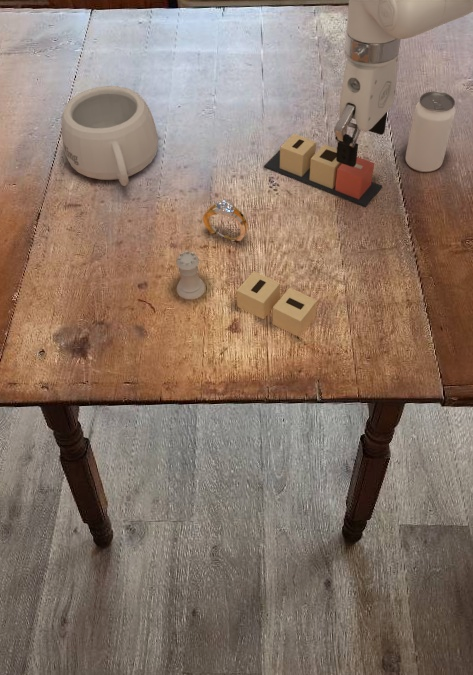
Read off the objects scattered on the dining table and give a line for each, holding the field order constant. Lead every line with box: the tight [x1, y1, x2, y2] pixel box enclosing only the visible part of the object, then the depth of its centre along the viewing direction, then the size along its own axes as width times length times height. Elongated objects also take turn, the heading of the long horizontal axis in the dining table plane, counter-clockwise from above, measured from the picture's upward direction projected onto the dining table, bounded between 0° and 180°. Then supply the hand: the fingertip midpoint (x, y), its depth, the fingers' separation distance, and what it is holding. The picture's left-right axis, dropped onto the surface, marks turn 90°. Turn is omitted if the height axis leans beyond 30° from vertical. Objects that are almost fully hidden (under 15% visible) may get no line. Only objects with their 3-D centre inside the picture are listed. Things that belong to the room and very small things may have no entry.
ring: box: [202, 198, 248, 244], centre depth 105 cm, size 7×3×8 cm, turn 61°
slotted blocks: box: [236, 270, 318, 338], centre depth 96 cm, size 20×6×5 cm, turn 56°
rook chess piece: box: [175, 249, 206, 300], centre depth 98 cm, size 4×4×8 cm
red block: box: [335, 156, 375, 199], centre depth 113 cm, size 4×4×5 cm
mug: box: [61, 85, 159, 187], centre depth 118 cm, size 21×17×10 cm
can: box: [404, 90, 456, 173], centre depth 114 cm, size 6×6×12 cm
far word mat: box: [263, 133, 383, 208], centre depth 115 cm, size 20×6×5 cm, turn 56°
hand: (360, 147), depth 108 cm, fingers open, 9 cm apart
